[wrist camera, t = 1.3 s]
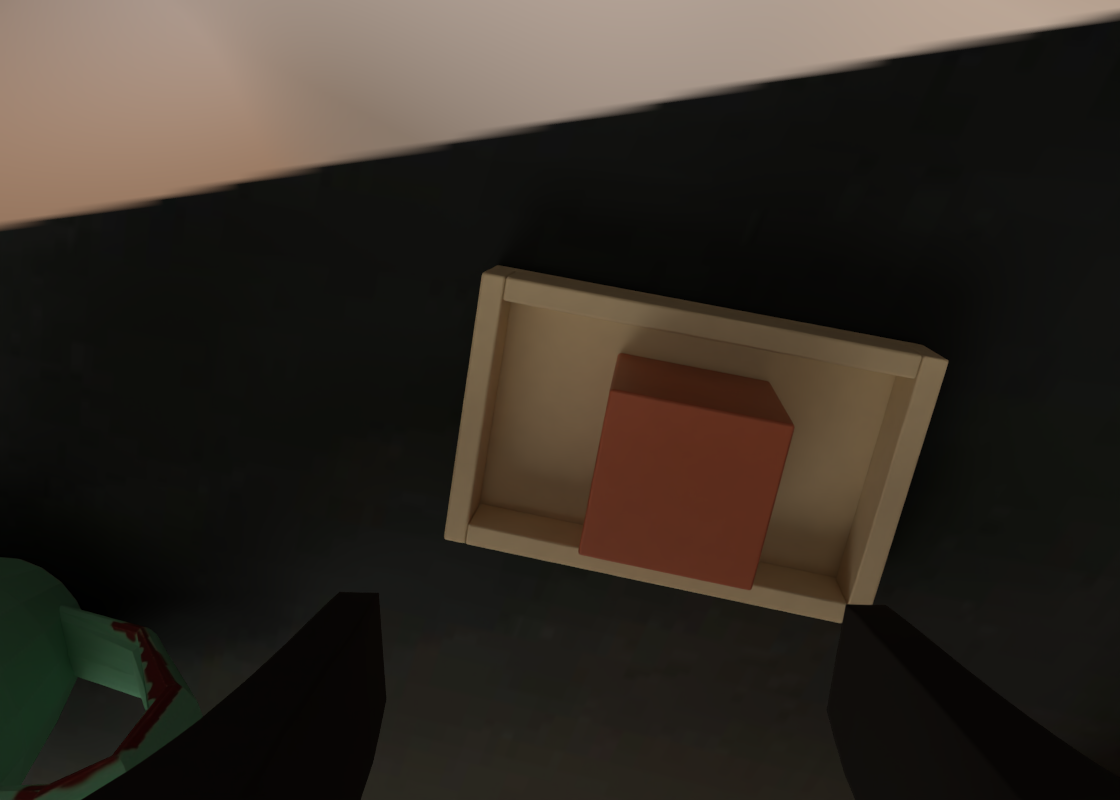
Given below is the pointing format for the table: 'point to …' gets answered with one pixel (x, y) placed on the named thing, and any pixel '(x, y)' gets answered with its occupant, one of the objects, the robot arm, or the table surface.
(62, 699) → the mug
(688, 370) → the block
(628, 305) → the tray
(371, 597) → the robot arm
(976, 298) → the table surface
